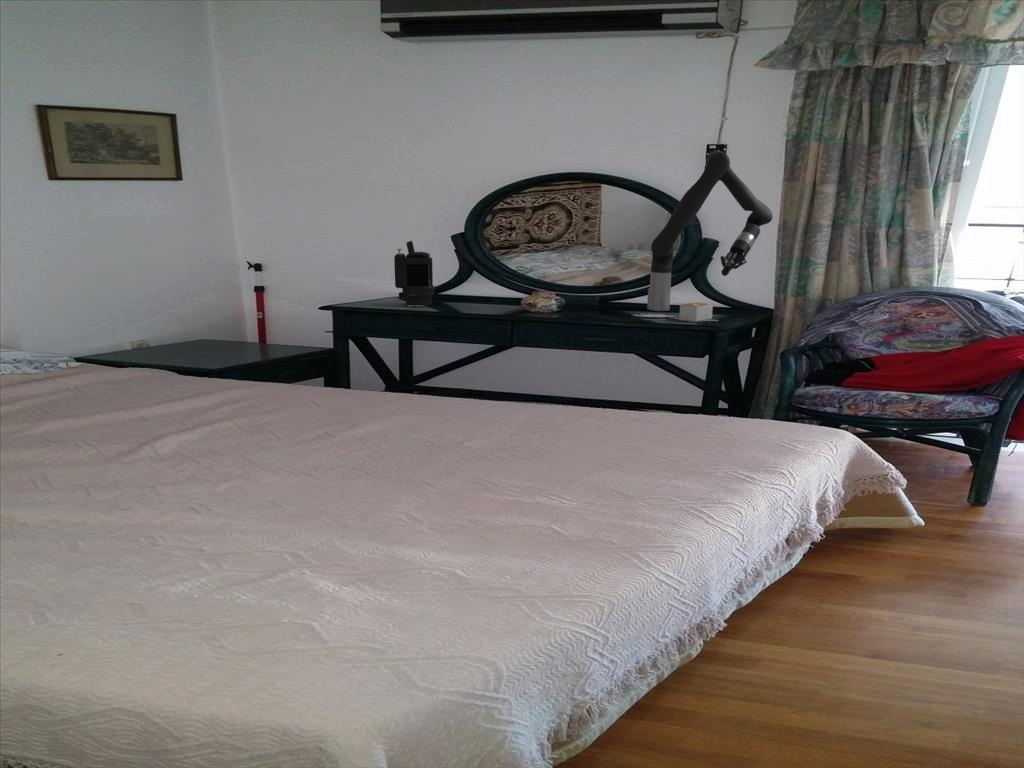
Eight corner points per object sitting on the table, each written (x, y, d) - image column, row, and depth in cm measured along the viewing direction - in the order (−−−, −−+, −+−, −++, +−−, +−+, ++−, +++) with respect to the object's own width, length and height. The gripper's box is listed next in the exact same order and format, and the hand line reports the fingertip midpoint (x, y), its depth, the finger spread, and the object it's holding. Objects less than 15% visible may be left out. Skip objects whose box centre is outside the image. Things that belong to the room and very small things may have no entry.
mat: (664, 318, 314) (664, 317, 314) (683, 316, 321) (683, 315, 321) (699, 323, 300) (699, 322, 300) (718, 321, 308) (718, 320, 308)
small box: (713, 303, 311) (697, 306, 301) (712, 318, 312) (696, 321, 303) (695, 301, 316) (679, 304, 307) (694, 316, 318) (678, 319, 308)
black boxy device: (434, 307, 345) (432, 241, 339) (395, 307, 344) (393, 241, 337) (435, 303, 360) (434, 240, 353) (398, 303, 359) (396, 240, 352)
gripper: (726, 238, 326) (707, 267, 322) (752, 239, 316) (733, 269, 311) (733, 250, 331) (714, 279, 326) (759, 251, 320) (740, 281, 316)
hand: (723, 274), depth 319 cm, fingers closed
